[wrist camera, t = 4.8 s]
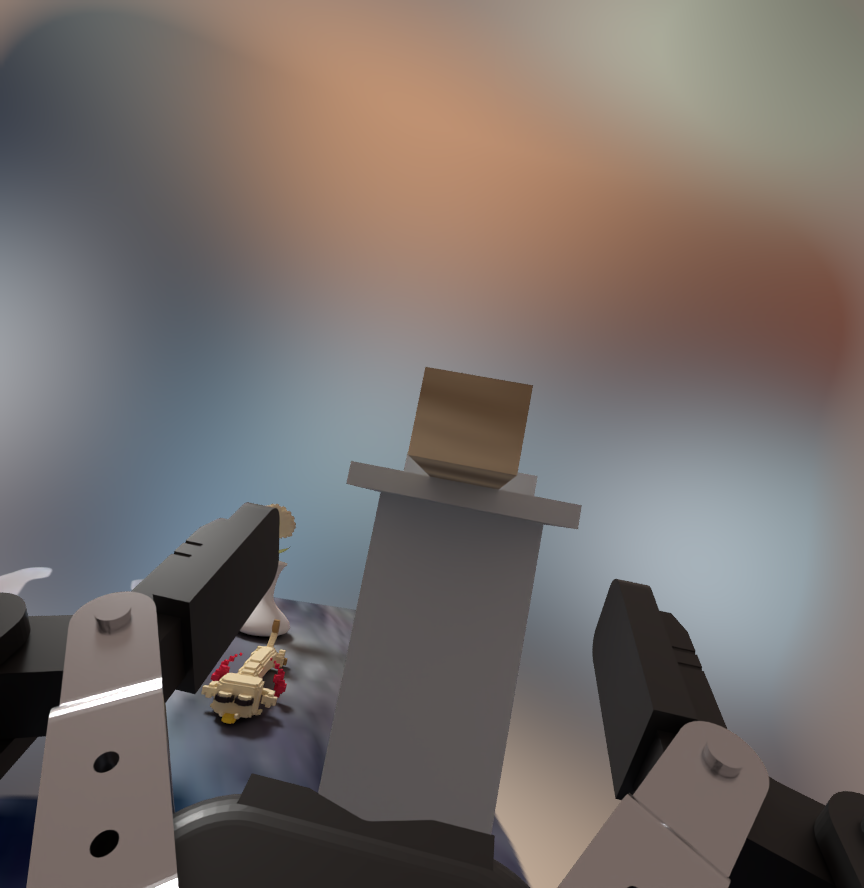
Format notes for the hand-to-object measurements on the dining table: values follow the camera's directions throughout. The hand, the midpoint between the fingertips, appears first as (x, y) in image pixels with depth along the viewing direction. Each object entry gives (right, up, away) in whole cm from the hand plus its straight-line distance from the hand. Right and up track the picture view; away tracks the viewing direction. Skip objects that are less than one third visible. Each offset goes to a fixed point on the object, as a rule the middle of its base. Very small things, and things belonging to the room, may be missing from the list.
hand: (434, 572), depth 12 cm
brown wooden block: (+2, +1, +17) cm, 17 cm away
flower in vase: (-35, -34, +90) cm, 103 cm away
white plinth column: (-4, -32, +22) cm, 38 cm away
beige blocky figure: (-26, -33, +62) cm, 75 cm away
